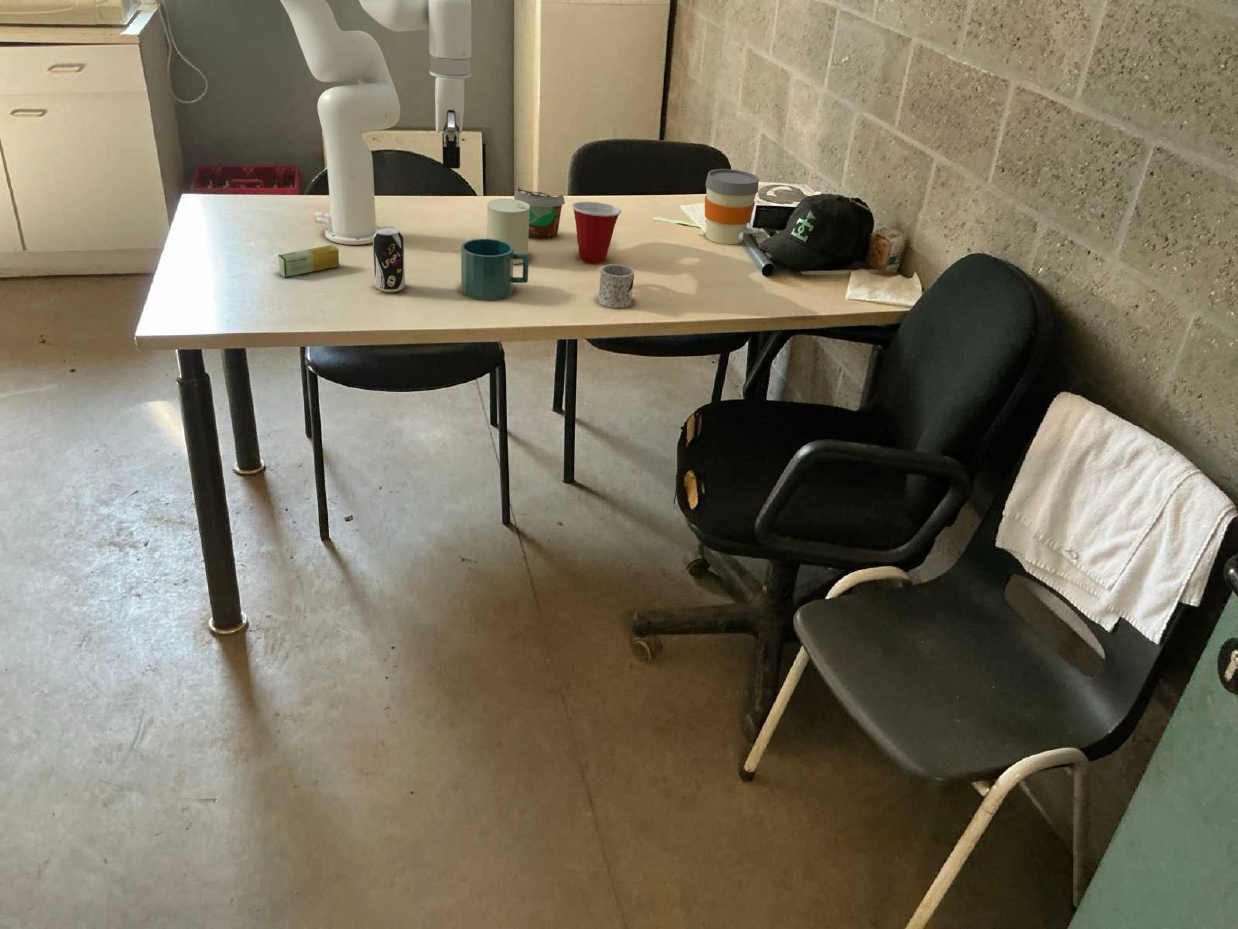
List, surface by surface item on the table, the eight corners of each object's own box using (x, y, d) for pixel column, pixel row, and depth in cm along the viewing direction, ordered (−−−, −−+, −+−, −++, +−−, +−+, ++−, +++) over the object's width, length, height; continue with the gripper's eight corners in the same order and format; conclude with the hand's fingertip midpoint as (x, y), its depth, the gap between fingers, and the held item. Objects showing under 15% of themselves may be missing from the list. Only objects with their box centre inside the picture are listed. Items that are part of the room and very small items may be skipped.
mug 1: (462, 300, 190) (462, 256, 185) (459, 280, 198) (459, 238, 193) (530, 300, 192) (531, 257, 188) (524, 281, 201) (526, 239, 196)
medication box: (284, 278, 192) (283, 260, 189) (278, 272, 193) (276, 254, 191) (340, 266, 199) (339, 248, 196) (333, 261, 200) (332, 243, 198)
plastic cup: (625, 257, 218) (629, 204, 212) (604, 271, 209) (608, 217, 203) (582, 247, 221) (585, 195, 215) (560, 260, 213) (562, 206, 207)
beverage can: (378, 295, 188) (375, 235, 182) (372, 284, 193) (369, 225, 186) (408, 292, 190) (406, 233, 184) (401, 282, 195) (399, 224, 189)
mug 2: (635, 307, 194) (638, 276, 190) (603, 308, 192) (606, 276, 188) (621, 288, 202) (623, 258, 198) (590, 289, 200) (592, 258, 196)
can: (521, 267, 208) (523, 212, 201) (480, 260, 209) (481, 205, 202) (533, 253, 215) (535, 199, 209) (493, 247, 216) (494, 194, 210)
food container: (503, 233, 225) (504, 191, 219) (515, 226, 230) (517, 184, 224) (551, 244, 221) (553, 201, 216) (563, 237, 226) (565, 194, 221)
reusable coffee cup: (725, 250, 228) (734, 186, 220) (688, 234, 236) (695, 172, 228) (760, 241, 235) (770, 179, 227) (723, 226, 243) (732, 166, 235)
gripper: (429, 56, 183) (431, 148, 192) (429, 74, 169) (431, 172, 178) (469, 58, 185) (469, 149, 194) (472, 76, 170) (472, 174, 179)
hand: (451, 160), depth 186 cm, fingers open, 9 cm apart
